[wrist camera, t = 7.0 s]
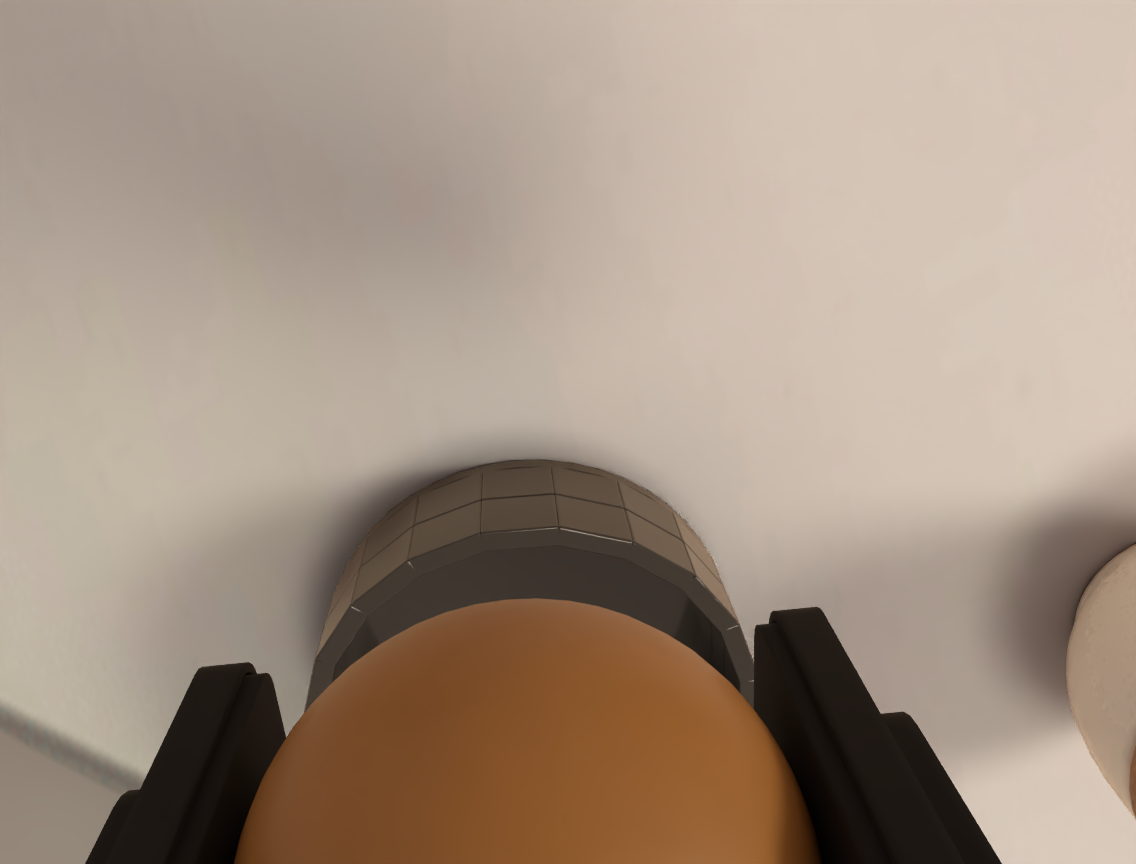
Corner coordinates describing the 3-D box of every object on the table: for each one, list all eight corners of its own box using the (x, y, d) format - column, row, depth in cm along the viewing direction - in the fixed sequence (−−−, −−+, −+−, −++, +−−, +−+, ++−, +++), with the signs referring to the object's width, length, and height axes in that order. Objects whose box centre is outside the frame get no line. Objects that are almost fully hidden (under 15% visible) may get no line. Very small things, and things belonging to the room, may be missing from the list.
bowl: (360, 806, 34) (341, 913, 30) (300, 476, 29) (268, 550, 25) (723, 772, 35) (754, 872, 30) (727, 442, 29) (765, 509, 25)
